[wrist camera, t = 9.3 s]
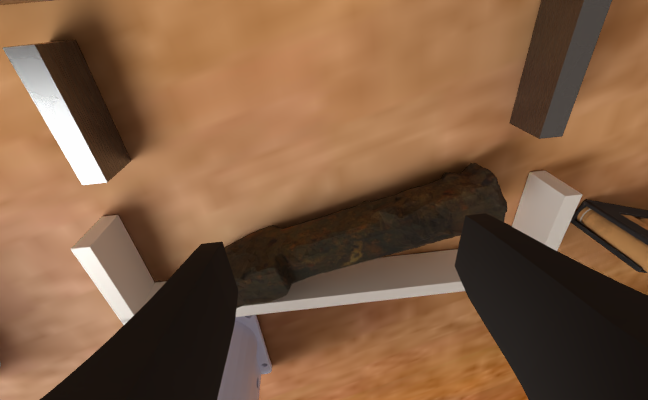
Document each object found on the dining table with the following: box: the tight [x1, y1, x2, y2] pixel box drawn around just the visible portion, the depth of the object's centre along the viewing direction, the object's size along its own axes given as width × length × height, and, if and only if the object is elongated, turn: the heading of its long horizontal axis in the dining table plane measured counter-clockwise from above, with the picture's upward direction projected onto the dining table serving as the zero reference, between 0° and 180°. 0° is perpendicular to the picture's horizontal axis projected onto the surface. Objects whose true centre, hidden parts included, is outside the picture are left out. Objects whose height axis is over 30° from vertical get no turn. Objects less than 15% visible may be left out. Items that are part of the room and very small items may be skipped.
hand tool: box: [225, 163, 507, 308], centre depth 18 cm, size 19×4×5 cm, turn 105°
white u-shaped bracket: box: [71, 170, 583, 325], centre depth 19 cm, size 7×28×3 cm, turn 94°
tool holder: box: [0, 0, 612, 185], centre depth 12 cm, size 14×27×3 cm, turn 94°
